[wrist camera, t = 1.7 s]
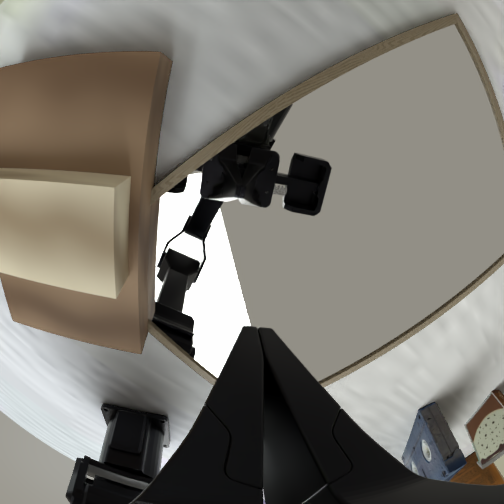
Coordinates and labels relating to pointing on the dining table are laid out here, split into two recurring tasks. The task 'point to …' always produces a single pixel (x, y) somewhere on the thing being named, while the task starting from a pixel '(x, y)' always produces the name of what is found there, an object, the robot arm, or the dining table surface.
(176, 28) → the dining table surface
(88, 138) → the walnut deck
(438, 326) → the dining table surface
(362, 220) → the rectangular mirror
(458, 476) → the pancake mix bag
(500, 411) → the food container
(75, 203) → the maple tile
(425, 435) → the vhs cassette tape
